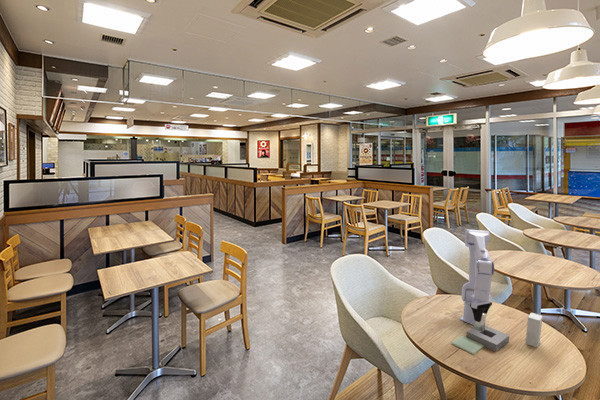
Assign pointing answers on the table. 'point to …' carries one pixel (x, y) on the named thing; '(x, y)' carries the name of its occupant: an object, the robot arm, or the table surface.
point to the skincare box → (533, 329)
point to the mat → (467, 344)
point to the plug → (480, 323)
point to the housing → (489, 337)
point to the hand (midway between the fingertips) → (479, 319)
